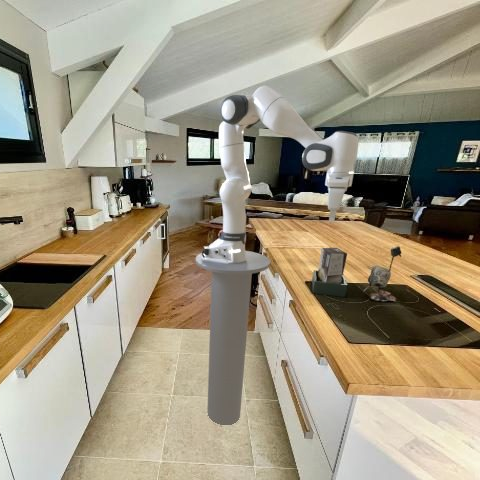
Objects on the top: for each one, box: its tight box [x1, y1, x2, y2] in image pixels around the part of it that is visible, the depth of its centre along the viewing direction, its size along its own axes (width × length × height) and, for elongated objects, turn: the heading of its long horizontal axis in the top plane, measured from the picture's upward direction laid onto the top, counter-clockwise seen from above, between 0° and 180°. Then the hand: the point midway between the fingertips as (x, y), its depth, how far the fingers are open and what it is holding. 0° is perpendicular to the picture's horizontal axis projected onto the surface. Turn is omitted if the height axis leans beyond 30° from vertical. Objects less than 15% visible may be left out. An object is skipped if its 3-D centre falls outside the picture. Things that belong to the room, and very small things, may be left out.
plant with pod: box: [362, 245, 402, 302], centre depth 115 cm, size 8×11×20 cm
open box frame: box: [311, 269, 348, 298], centre depth 126 cm, size 12×15×5 cm
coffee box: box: [317, 247, 348, 284], centre depth 124 cm, size 9×6×16 cm
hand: (332, 219), depth 118 cm, fingers open, 8 cm apart
